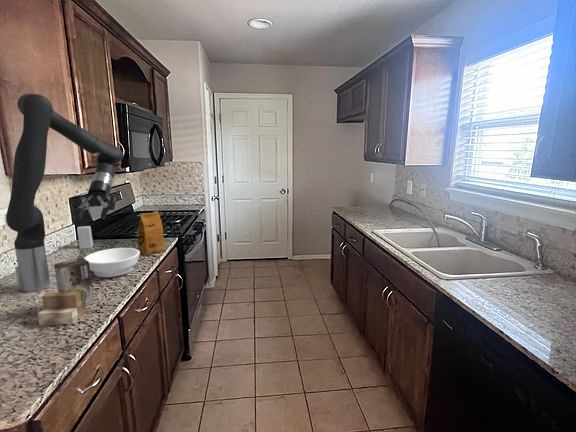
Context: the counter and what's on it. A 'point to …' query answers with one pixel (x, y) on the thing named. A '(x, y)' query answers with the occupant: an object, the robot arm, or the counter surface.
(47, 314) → the batten
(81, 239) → the skincare box
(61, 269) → the coffee box
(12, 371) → the counter surface
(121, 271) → the bowl
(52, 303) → the block
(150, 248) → the coffee package
